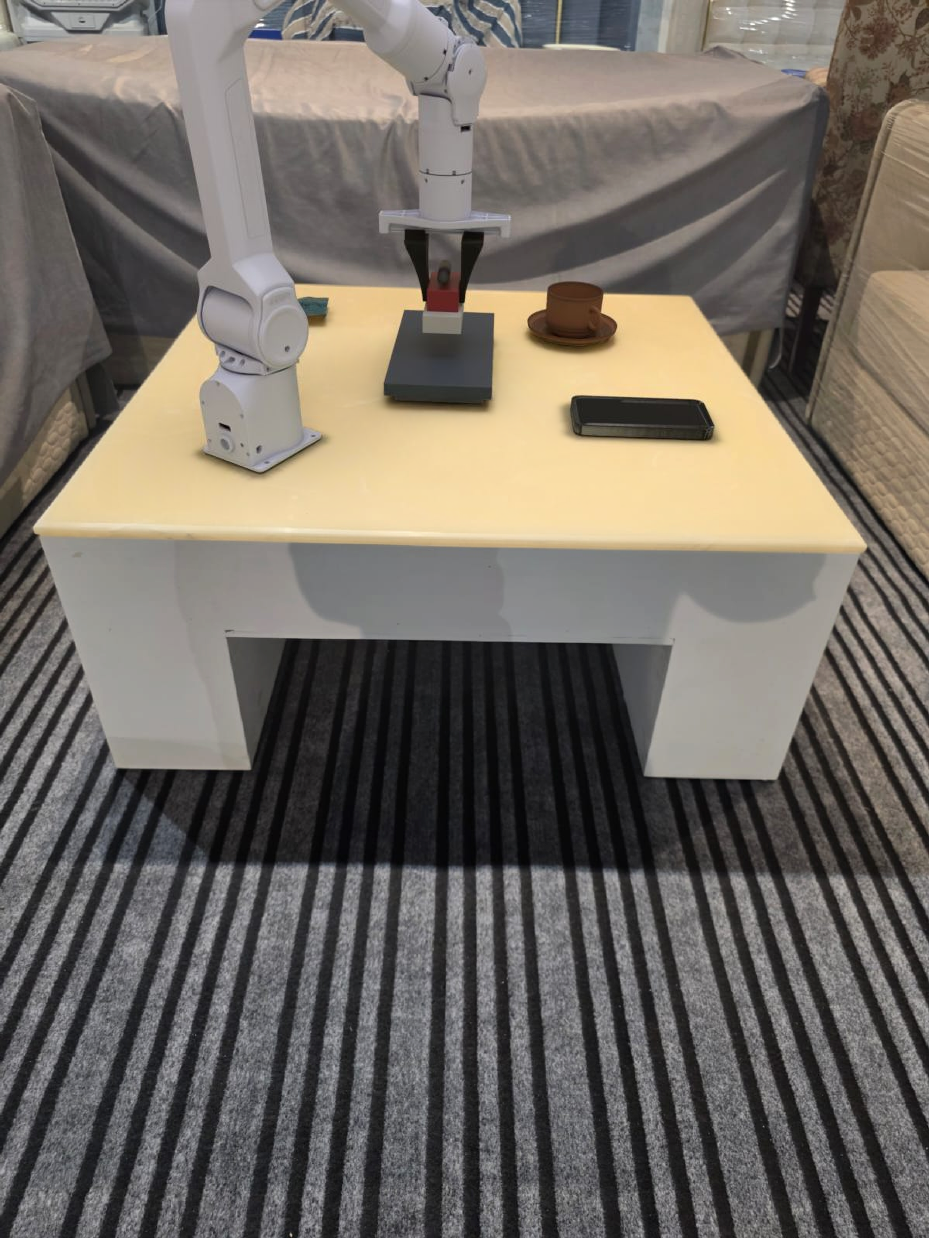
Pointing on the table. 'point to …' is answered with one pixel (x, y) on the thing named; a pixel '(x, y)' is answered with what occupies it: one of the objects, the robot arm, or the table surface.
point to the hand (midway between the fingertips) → (444, 299)
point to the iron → (443, 302)
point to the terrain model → (314, 305)
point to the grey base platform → (442, 361)
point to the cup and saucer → (573, 315)
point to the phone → (641, 417)
